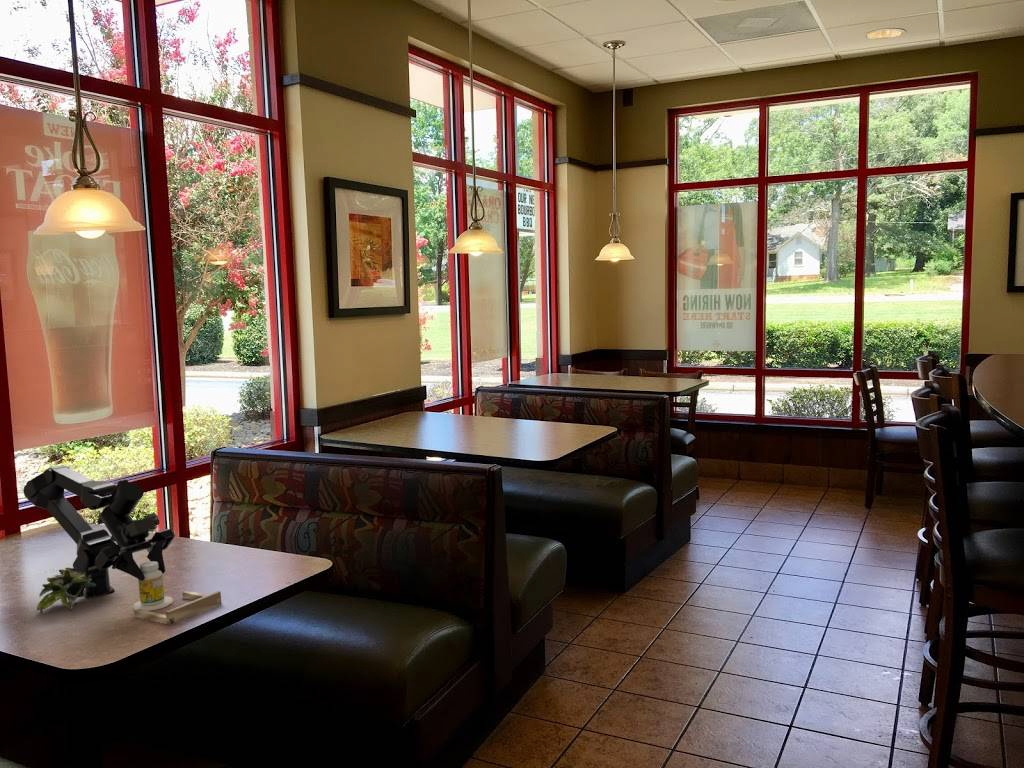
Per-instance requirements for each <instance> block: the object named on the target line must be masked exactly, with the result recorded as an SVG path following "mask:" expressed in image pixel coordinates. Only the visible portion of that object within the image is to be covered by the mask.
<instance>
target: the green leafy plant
mask: <svg viewBox="0 0 1024 768" xmlns="http://www.w3.org/2000/svg"><path fill="white" fill-rule="evenodd" d="M58 572H59V574H56V575H55V574H54V575H53V576H51V577H46V581H47V582H48V583H44V584H42V587H43V588H42V589H41V591H40V592H39V598H40V597H42V596H43V595H44V596H43V598H42V599H41V600H40V601H39V602H38V605H37V606H36V610H37V612H39V613H42V612H43V610H46V609H48V608H49V607H51V606H52V605H54V603H56V602H58V601H59V600H60V602H61V603H62V604H63V605H64V606H65V607H69V606H70V605H69V603H70V604H71V606H70V607H71V608H70V610H69V611H70V612H72V611H73V608H74V605H75V602H76V600H77V599H79V598H83V597H84V596H85V595H84V594H83V591H84V589H85V588H86V587H95V586H96V584H95V583H92V582H90V581H92V579H90V577H91V575H89V576H88V577H86V576H87V575H86V572H83V573H81V571H79V572H77V569H76V568H73V567H65V569H59V570H58ZM46 593H47V594H46ZM41 611H42V612H41Z"/></svg>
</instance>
